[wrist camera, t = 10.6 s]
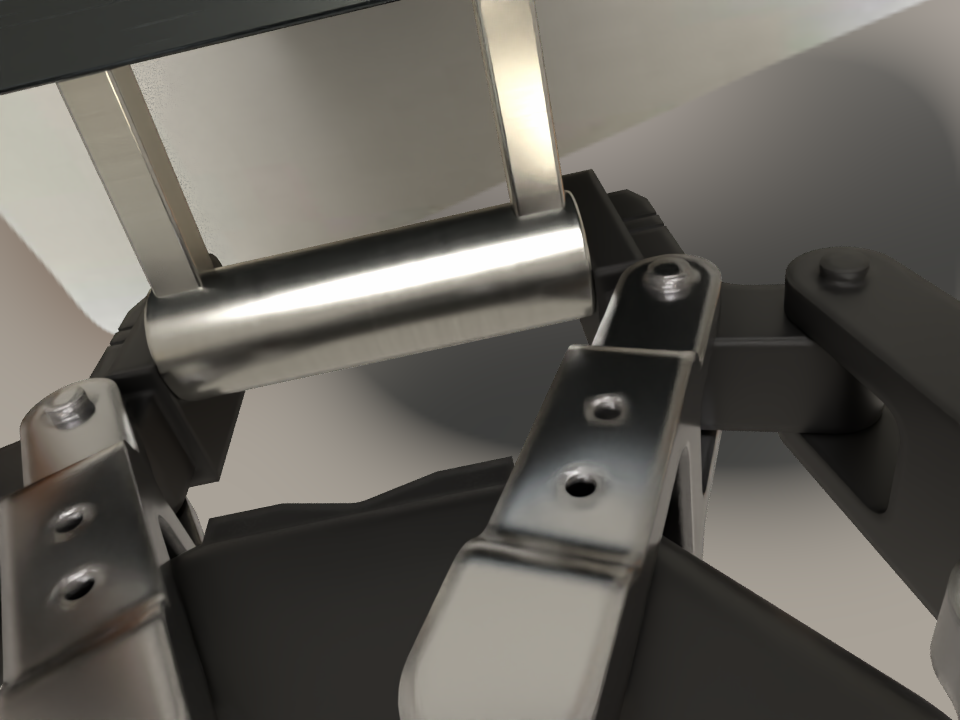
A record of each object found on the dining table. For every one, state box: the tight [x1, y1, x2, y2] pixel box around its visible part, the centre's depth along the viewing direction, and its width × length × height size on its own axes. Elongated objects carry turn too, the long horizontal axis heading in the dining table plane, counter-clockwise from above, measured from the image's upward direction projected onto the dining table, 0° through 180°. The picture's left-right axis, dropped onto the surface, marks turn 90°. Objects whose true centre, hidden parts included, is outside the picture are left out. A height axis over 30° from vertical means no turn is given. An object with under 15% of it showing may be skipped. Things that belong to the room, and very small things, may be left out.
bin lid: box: [0, 0, 596, 401], centre depth 15 cm, size 16×13×5 cm
